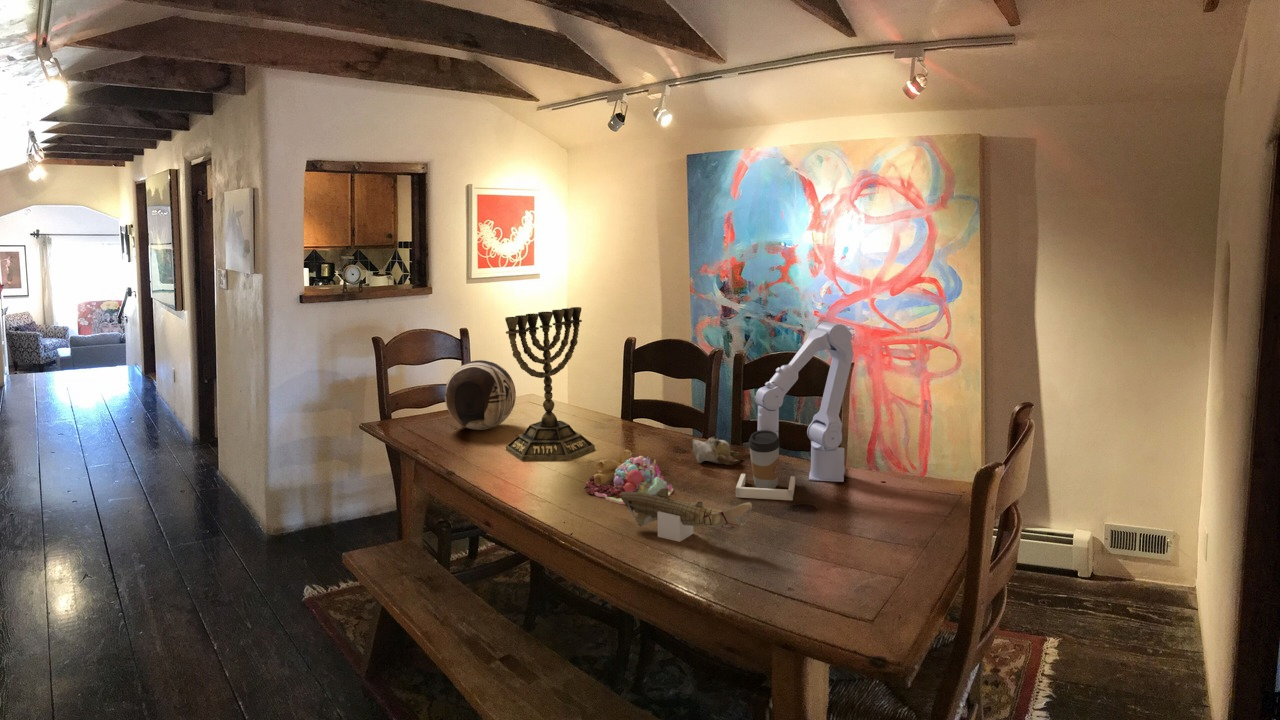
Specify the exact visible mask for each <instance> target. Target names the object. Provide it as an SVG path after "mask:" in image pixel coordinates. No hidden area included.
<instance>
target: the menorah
mask: <svg viewBox="0 0 1280 720" xmlns="http://www.w3.org/2000/svg"><path fill="white" fill-rule="evenodd" d="M581 313H582V307H581V306H572V307H568V308H567V307H566V308H561V309H552V310H551V311H538V313H526V314H525V315H524V314H521V315H515V316H508V317H507V316H506V317H505V324H506V327H507V329H508V330H507V331H505V334H506V335H508V339H509V344H510V348H511V351H512V356H513V358H514V359H515V361H516V362H517V365H519V367H520V369H521V370H523V371H524V372H525V373H527V374H528V375H529V376H531V377H535V378H539V379H543V383H544V386H543V391H544V395H543V397H544V399H545V400H544V401H543V403H542V406H543V409H544V411H545V413H543V415H542V416H541V421H537V422H535V423H532V424H529V426H528V427H527V428H526V429H525V431H524V432H523V433H520V434H518V435H517V436H516V437H514V439H512V440H511V441H510V442H509V443H507V445H505V451H506V452H508V453H509V454H511V455H512V456H514V457H515V458H517V459H518V460H520V461H521V462H539V461H540V462H549V461H550V462H552V461H553V462H555V461H557V462H558V461H560V462H561V461H564V462H565V461H566V462H567V461H571V460H573V459H575V458H578V457H580V456H583V455H585V454H587V453H590V452H592V451H596V450H595V448H596V447H595V444H593V443H592V442H591V441H590V440H589V439H588V438H586V437H584V436H583V435H582V434H581V433H579V432H577V431H575V430H574V429H573V428H572V426H571V424H568V423H567V422H565V421H562V420H558V418H557V416H556V414H555V413H554V412H553V410H554V408H555V402H554V401H553V400H552V398H553V395H554V394H553V392H552V391H553V386H552V383H553V379H552V377H551V376H554V375H556V374H558V373H559V372H561V371H562V370H563V369H564V368H565V367H566V365H567V364H568V363H569V361H571V359H572V358H573V353H574V350H575V349H576V347H577V346H578V338H579V331H580V329H579V328H580V325H581V324H580V323H582V322H583V320H582V319H580V317H581ZM552 318H553V320H554V322H552V324H551V321H552ZM538 320H540V322H541V324H542V325H539V327H538V326H537V324H538ZM563 320H564V321H563ZM527 326H528V327H527ZM553 326H554V329H555V333H554V335H553V337H552V341H551V342H550V336H549V332H550V330H551V328H553ZM517 327H518V329H517ZM563 327H564V334H563V339H561V334H562V332H561V331H562V330H563ZM572 327H573V330H572V338H571V339H570V341H569V338H570V333H571V329H572ZM539 329H542V330H541V331H542V333H543V341H542V343H543V344H541V341H540V340H539V339H538V337H537V334H538V333H537V331H538V330H539ZM527 332H528V333H529V335H530V340H531V344H532V345H533V347H535V348H536V349H538V351H540V352H543V353H542V357H543V358H539V357H538V356H537V355H535V353H534V352H532V348H531V347H530V346H529V344H528V341H527ZM517 335H518V337H519V338H520V342H521V345H522V349H523V353H524V354H525V355H527V357H528V358H529V360H531V361H532V362H533V363H536V364H541V365H543V366H542V369H543V371H537V370H536V369H533V368H531V367H530V366H529V365H528V363H527V361H525V360H524V359H523V357H522V352H521V351H520V350H519V347H518V344H517V340H516V339H517ZM559 342H560V346H559V347H558V350H557V351H555V353H554V354H553V355H552V353H551V351H550V350H552V349H554V348H555V347H556V346H557V344H558V343H559ZM569 342H570V343H569ZM568 345H569V347H568V349H567V351H566V352H565V349H566V348H567V346H568ZM563 352H565V354H564V358H563V360H561V362H559V363H558V364H557V366H556V367H554V368H553V367H552V364H551V363H553V362H554V361H556V360H557V359H559V358H560V357H561V356H562V353H563Z"/></svg>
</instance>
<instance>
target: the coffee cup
mask: <svg viewBox="0 0 1280 720" xmlns="http://www.w3.org/2000/svg"><path fill="white" fill-rule="evenodd" d="M780 445H781V444H780V437H779V435H778V436H777V434H776V433H774V432H772V431H768V430H761V431H754V432H753V433H751V435H750V436H749V439H748V449H749V452H750V463H751V464H750V465H751V471H752V473H751V474H752V477H753V483H754V484H753V485H754V486H755V488H769V489H776V487H777V485H778V484H779V483H778V482H779V467H780V466H779V465H780V464H779V463H780V455H779V454H780V451H779V450H780Z"/></svg>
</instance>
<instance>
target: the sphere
mask: <svg viewBox="0 0 1280 720" xmlns="http://www.w3.org/2000/svg"><path fill="white" fill-rule="evenodd" d="M444 389H445V390H444V402H445V406H446V408H447V411H448V412H449V414H450V416H451V418H453V420H455V422H457V423H458V424H459V425H461V426H463V427H464V428H466V429H470V430H475V431H486V430H490V429H493V428H496V427H498V426H499V425H501V424H502V423H503V422H504V421H506V420H507V419H508V417H509V416H510V415H511V413H512V411H513V409H514V406H515V404H516V403H515V402H516V398H517V394H516V393H517V392H516V386H515V383H514V381H513V379H512V377H511V375H510V373H509V372H507V370H506V369H505V368H504V367H502V366H501V365H499V364H497V363H495V362H493V361H489V360H483V359H480V360H479V359H478V360H471V361H468V362H466V363H464V364H462V365H460V366H459V367H457V368H456V369H455V370H454V371H453V372H452V373H451V375H450V376H449V378H448V381H447V382H446V385H445V388H444Z"/></svg>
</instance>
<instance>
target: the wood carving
mask: <svg viewBox="0 0 1280 720" xmlns="http://www.w3.org/2000/svg"><path fill="white" fill-rule="evenodd" d="M620 497H621V499H622V500H623V502H624V503H625V504H626V505H625V504H624V505H625V506H626V507H627V509H628V511H629V512H630V514H631V515H632V517H633V518H634V519H635V520H634V521H636V523H637V525H639V526H640V527H641V526H646V525H647V524H648V523H650V522H654V521H657V538H663V539H666V540H670V541H675V542H678V543H680V542H682V541H684V540H686V539H687V538H689V537H691V536H692V535H693V534H694V527H703V528H704V527H709V528H710V527H711V528H712V527H714V528H721V529H726V530H733V531H743V530H744V528H745V525H746V522H747V520H748V518H749V516H750V514H751V512H752V508H753V504H752V502H750V501H749V502H744V503H741V504H738V505H736V506H735V505H734V506H733V507H730V508H728V509H726V510H720V509H716V508H711V507H706V506H704V504H703V502H702V501H698V502H697V503H694V502H687V501H683V500H679V499H673V498H670V497H669V496H668V489H667V488H662V489H660V490H659V491H658V492H657V493H656V494H655V495H654V494H652V495H651V494H646V493H642V492H639V493H637V492H622V493H621V494H620ZM634 513H636V514H637V516H636V515H635V514H634ZM745 513H746V518H745V520H744V522H743V517H744V514H745ZM726 526H728V527H726Z"/></svg>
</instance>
